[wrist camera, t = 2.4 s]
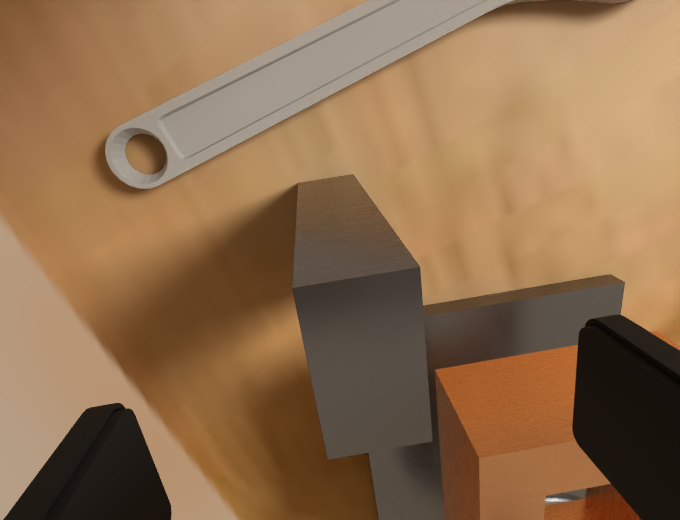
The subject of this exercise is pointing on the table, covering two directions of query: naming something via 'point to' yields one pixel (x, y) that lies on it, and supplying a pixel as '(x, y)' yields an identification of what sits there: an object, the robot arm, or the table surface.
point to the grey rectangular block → (359, 321)
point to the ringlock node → (504, 413)
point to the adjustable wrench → (288, 81)
